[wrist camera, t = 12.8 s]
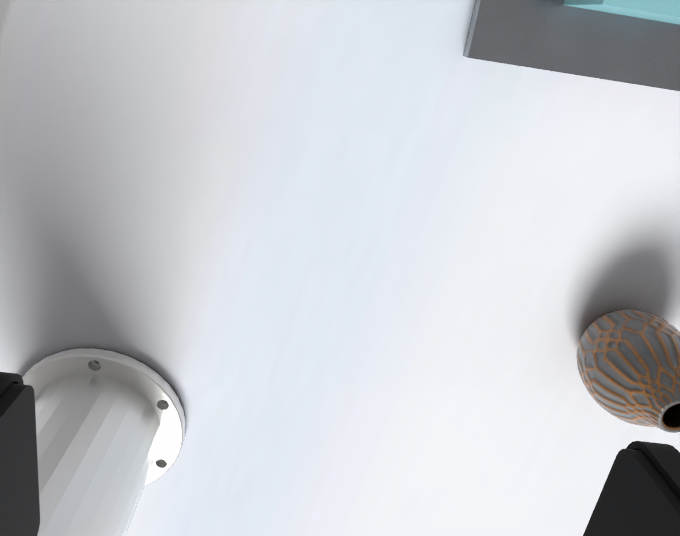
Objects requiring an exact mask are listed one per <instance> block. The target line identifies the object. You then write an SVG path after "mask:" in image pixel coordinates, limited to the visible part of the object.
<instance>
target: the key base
mask: <svg viewBox="0 0 680 536" xmlns="http://www.w3.org/2000/svg"><path fill="white" fill-rule="evenodd" d="M563 3H564V0H476V1H475V5H474V10H473V14H472V19H471V23H470V28H469V32H468V37H467V41H466V46H465V51H464V55H463V56H465V57H468V58H474V59H481V60H487V61H493V62H499V63H506V64H512V65H518V66H525V67H531V68H537V69H544V70H550V71H556V72H563V73H569V74H575V75H581V76H588V77H594V78H600V79H607V80H613V81H619V82H626V83H632V84H638V85H645V86H651V87H657V88H663V89H670V90H676V91H680V25H679V24H673V23H667V22H661V21H655V20H650V19H644V18H638V17H632V16H626V15H620V14H614V13H608V12H602V11H596V10H590V9H584V8H578V7H572V6H566V5H563Z"/></svg>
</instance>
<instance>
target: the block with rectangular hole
mask: <svg viewBox="0 0 680 536" xmlns="http://www.w3.org/2000/svg"><path fill="white" fill-rule="evenodd" d="M563 5H566V6H572V7H578V8H584V9H590V10H596V11H602V12H608V13H614V14H620V15H626V16H632V17H638V18H644V19H650V20H655V21H661V22H667V23H673V24H679V25H680V0H564V3H563Z"/></svg>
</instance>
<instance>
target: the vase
mask: <svg viewBox="0 0 680 536" xmlns="http://www.w3.org/2000/svg"><path fill="white" fill-rule="evenodd" d="M577 364H578V370H579V373H580V377H581V379H582V381H583V383H584V385H585V387H586V388H587V390H588V392H589V393H590V395H591V396H592V397H593V399H594V400H595V401H596V402H597V403H598V404H599V405H600V406H601V407H603V408H604V409H605V410H606V411H608V412H609V413H611V414H612V415H614V416H615V417H617V418H619V419H621V420H623V421H626V422H628V423H631V424H635V425H641V426H649V427H658V428H660V429H662V430H664V431H667V432H680V331H678V330H677V329H676V328H675V327H674V326H672V325H671V324H670V323H668V322H667V321H665V320H664V319H662V318H660V317H658V316H655V315H653V314H650V313H647V312H644V311H638V310H619V311H614V312H611V313H608V314H605V315H603V316H601V317H600V318H598V319H596V320H595V321H594V322H593V323H591V324H590V325H589V326H588V328H587V329H586V330H585V332H584V333H583V335H582V337H581V339H580V341H579V344H578V349H577Z"/></svg>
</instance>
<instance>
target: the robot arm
mask: <svg viewBox="0 0 680 536" xmlns="http://www.w3.org/2000/svg"><path fill="white" fill-rule="evenodd" d="M185 427H186V422H185V417H184V411H183V408H182V406H181V404H180V401H179V399H178V397H177V395H176V394H175V393H174V391H173V390H172V388H171V387H170V385H169V384H168V383H167V382H166V381H165V380H164V379H163V378H162V377H161V376H160V375H159V374H158V373H156V372H155V371H153V370H152V369H151V368H149V367H148V366H146V365H145V364H143V363H141V362H139V361H137V360H135V359H133V358H131V357H129V356H126V355H123V354H120V353H116V352H113V351H108V350H102V349H95V348H78V349H72V350H66V351H61V352H58V353H56V354H53V355H50V356H47V357H46V358H44V359H42V360H41V361H39V362H38V363H36V364H34V365H33V366H32V367H31V368H30V369H29V370H28V371H27V372H26V373H25V374H24V376H23V377H21V375H19V374H15V373H5V372H0V536H125V534H126V532H127V529H128V527H129V524H130V522H131V519H132V516H133V514H134V511H135V509H136V506H137V504H138V501H139V498H140V496H141V493H142V491H143V488H144V486H145V485H147V484H149V483H151V482H152V481H154V480H156V479H158V478H159V477H161V476H162V475H163V474H164V473H165V472H167V471H168V470H169V469H170V467H171V466H172V465H173V463H174V462H175V461H176V459H177V457H178V455H179V452H180V450H181V448H182V444H183V441H184V437H185ZM583 536H680V453H679V451H678V450H677V449H675V448H674V447H673V446H671V445H668V444H660V443H650V442H641V441H635V442H632V443H631V444H629V445H628V447H627V448H626V449H622V450H621V451H619V453H618V454H617V456H616V459H615V461H614V463H613V466H612V468H611V470H610V473H609V475H608V478H607V480H606V482H605V485H604V487H603V489H602V492H601V494H600V497H599V499H598V501H597V504H596V506H595V509H594V511H593V513H592V516H591V518H590V520H589V523H588V525H587V528H586V530H585V532H584V535H583Z"/></svg>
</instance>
